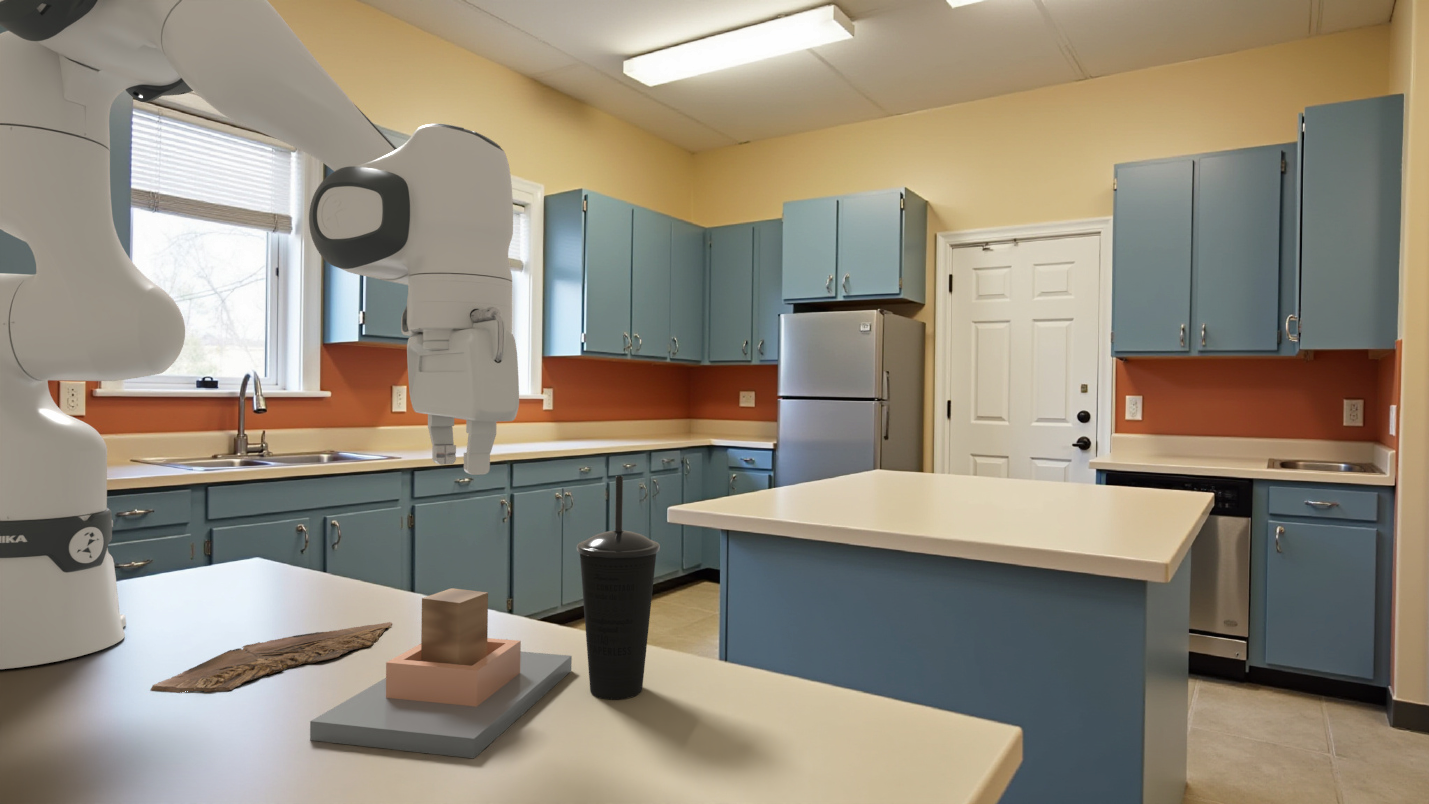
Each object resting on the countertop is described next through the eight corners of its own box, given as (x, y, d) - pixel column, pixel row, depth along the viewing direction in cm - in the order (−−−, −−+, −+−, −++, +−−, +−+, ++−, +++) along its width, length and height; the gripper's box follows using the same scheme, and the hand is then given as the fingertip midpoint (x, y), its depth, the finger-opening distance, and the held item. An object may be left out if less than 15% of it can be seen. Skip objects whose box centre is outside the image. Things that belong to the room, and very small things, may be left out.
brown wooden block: (420, 689, 72) (421, 598, 72) (450, 674, 75) (451, 588, 75) (458, 695, 70) (459, 603, 70) (486, 680, 74) (488, 592, 74)
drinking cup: (596, 712, 71) (599, 482, 71) (561, 685, 77) (564, 474, 77) (672, 695, 75) (675, 478, 75) (633, 671, 82) (636, 470, 81)
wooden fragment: (183, 707, 71) (183, 695, 71) (125, 682, 77) (125, 671, 77) (428, 636, 93) (428, 626, 93) (369, 621, 99) (369, 612, 99)
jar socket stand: (310, 740, 65) (310, 683, 64) (442, 659, 84) (443, 615, 84) (473, 758, 62) (474, 699, 62) (571, 670, 81) (572, 625, 81)
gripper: (539, 307, 66) (537, 479, 66) (461, 321, 83) (460, 457, 83) (461, 302, 62) (459, 483, 62) (396, 317, 79) (395, 460, 79)
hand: (459, 468), depth 73 cm, fingers open, 8 cm apart
